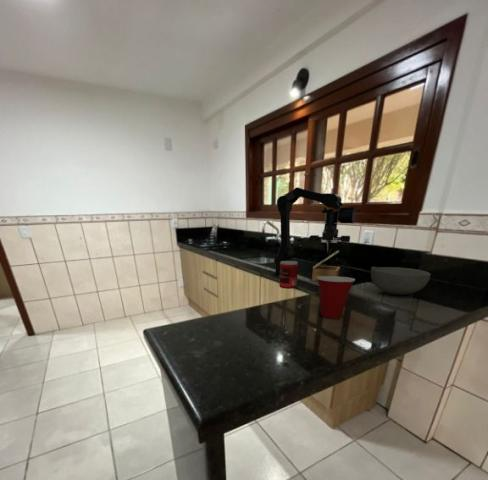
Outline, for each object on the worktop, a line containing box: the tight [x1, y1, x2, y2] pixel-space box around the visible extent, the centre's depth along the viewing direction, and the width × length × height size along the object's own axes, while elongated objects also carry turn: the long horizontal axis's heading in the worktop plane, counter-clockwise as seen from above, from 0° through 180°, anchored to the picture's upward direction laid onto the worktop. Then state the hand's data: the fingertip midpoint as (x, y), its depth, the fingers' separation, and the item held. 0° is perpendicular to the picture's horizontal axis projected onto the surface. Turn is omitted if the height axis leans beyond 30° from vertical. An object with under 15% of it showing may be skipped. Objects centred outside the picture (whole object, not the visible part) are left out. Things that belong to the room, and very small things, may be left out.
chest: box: [311, 265, 341, 282], centre depth 133 cm, size 12×13×6 cm
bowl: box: [370, 266, 432, 296], centre depth 104 cm, size 20×20×10 cm
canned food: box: [278, 260, 299, 290], centre depth 116 cm, size 8×8×11 cm
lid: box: [312, 250, 340, 270], centre depth 131 cm, size 12×13×1 cm
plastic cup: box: [317, 276, 356, 319], centre depth 79 cm, size 11×11×12 cm
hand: (327, 256), depth 130 cm, fingers closed
